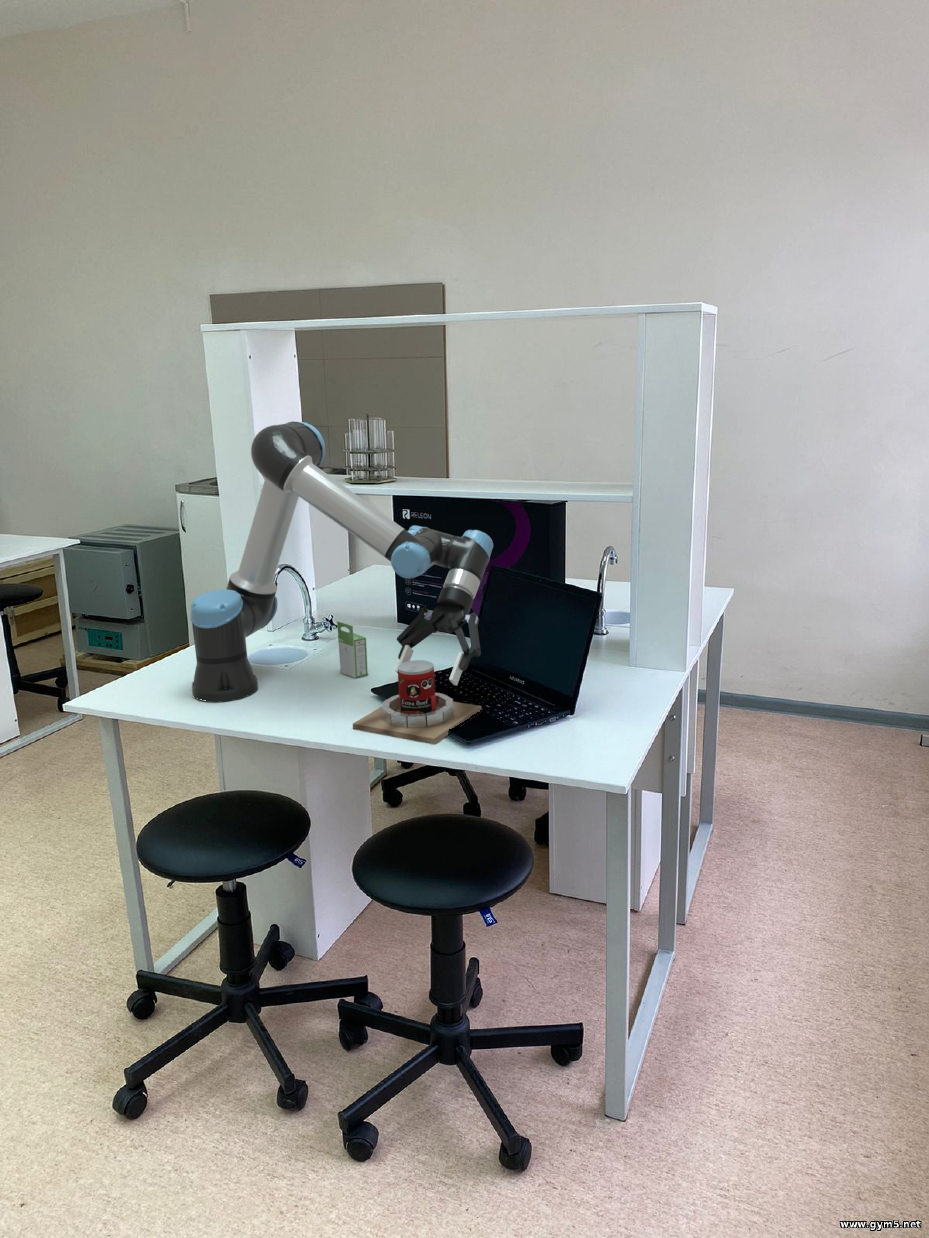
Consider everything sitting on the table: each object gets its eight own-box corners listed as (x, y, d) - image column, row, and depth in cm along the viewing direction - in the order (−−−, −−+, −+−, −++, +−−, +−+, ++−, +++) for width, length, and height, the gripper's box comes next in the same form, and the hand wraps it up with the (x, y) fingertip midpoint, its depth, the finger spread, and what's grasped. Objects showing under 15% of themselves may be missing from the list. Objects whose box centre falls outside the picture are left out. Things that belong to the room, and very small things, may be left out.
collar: (369, 721, 200) (368, 710, 199) (407, 698, 212) (406, 688, 212) (430, 732, 192) (429, 720, 192) (465, 708, 205) (465, 697, 204)
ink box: (369, 675, 233) (365, 622, 229) (355, 679, 230) (351, 626, 227) (353, 669, 238) (349, 617, 234) (340, 672, 236) (336, 620, 232)
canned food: (396, 721, 199) (393, 671, 196) (404, 707, 207) (401, 659, 204) (432, 721, 198) (430, 672, 195) (438, 708, 206) (436, 659, 203)
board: (352, 728, 199) (352, 723, 199) (404, 698, 216) (403, 693, 215) (434, 744, 190) (434, 738, 189) (481, 711, 206) (481, 706, 206)
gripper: (513, 608, 208) (483, 694, 200) (418, 597, 220) (385, 678, 212) (501, 590, 202) (469, 677, 194) (404, 580, 214) (370, 662, 206)
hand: (425, 678), depth 203 cm, fingers open, 13 cm apart
